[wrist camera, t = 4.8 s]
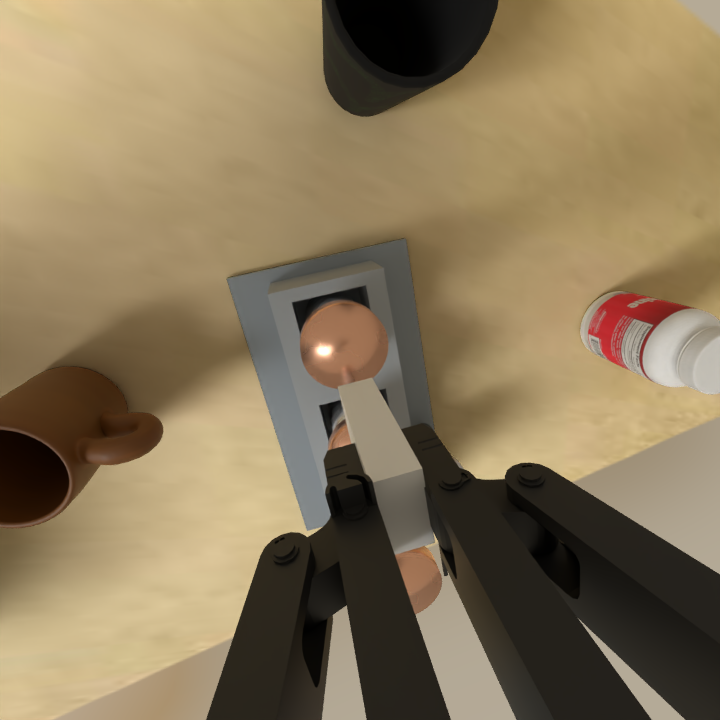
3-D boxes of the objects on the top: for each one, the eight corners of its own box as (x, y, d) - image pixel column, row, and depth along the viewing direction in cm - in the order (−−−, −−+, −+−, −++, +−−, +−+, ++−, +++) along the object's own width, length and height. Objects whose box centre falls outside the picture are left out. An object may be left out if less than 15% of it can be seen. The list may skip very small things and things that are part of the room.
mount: (306, 526, 40) (309, 567, 36) (227, 277, 31) (217, 289, 26) (441, 488, 42) (460, 523, 37) (403, 238, 32) (423, 243, 28)
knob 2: (352, 536, 36) (370, 628, 28) (339, 487, 34) (355, 571, 26) (411, 519, 36) (446, 605, 28) (402, 470, 34) (436, 548, 26)
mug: (172, 346, 32) (130, 397, 23) (197, 429, 35) (167, 502, 26) (8, 371, 31) (-102, 435, 22) (47, 456, 34) (-36, 542, 25)
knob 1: (306, 354, 33) (312, 398, 26) (289, 290, 31) (290, 316, 24) (370, 338, 34) (394, 377, 26) (357, 274, 32) (380, 295, 24)
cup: (345, 154, 30) (380, 122, 18) (284, 41, 27) (283, -78, 16) (436, 96, 29) (527, 26, 18) (385, -26, 26) (457, -197, 15)
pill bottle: (648, 297, 38) (782, 330, 28) (620, 358, 40) (735, 410, 29) (593, 283, 36) (713, 311, 26) (566, 346, 38) (668, 397, 28)
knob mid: (328, 436, 36) (339, 498, 29) (313, 382, 34) (321, 433, 27) (386, 421, 37) (413, 477, 29) (375, 366, 35) (401, 412, 27)
